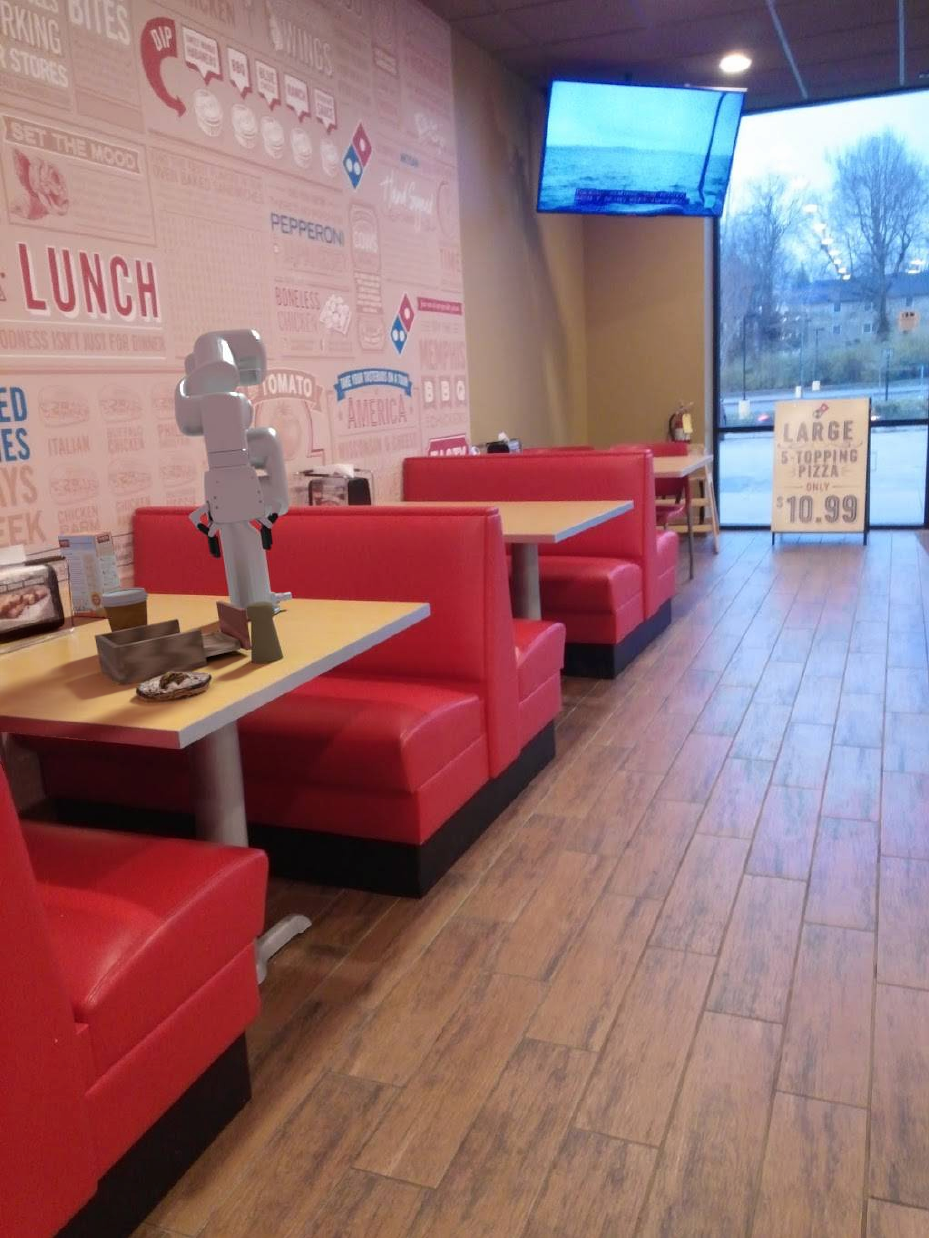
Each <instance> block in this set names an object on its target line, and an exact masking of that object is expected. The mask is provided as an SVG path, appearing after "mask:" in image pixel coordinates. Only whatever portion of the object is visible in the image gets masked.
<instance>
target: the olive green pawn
mask: <svg viewBox="0 0 929 1238" xmlns="http://www.w3.org/2000/svg"><path fill="white" fill-rule="evenodd" d="M246 612H247V616H248V619H249V620H248V621H250V642H251V650H250V651H251V652H250V656H251V657H250V658H251V660H250V661H251V663H253V664H268V663H273V662H278V661H280V660H282V659H283V658H284V655H283V650H282V646H281V643H280V640H279V636H278V633H277V630H276V625H275V621H274V619H273V618H274V616H275V615H276V614H275V609H274V606H273V605H272V603H270V602H265V601H262V602H255V603H252V604H250V605H249V606H248V607H247V611H246Z"/></svg>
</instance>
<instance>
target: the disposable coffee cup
mask: <svg viewBox="0 0 929 1238" xmlns="http://www.w3.org/2000/svg"><path fill="white" fill-rule="evenodd" d="M148 596H149V594H148V593H147V591H146V590H145V588H144V587H130V588H121V590H115V591H111V592H107V593H104V594H102V600H101V601H100V602H101V603H102V605H103V606H104V609H105V612H106V615H107V618H106V619H107V621H108V625H109V627H110V630H111V631H110V632H115V631H120V630H125V629H130V628H135V627H140V626H144V625H149V624H148V623H149V622H148V602H147V600H148Z"/></svg>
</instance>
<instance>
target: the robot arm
mask: <svg viewBox="0 0 929 1238" xmlns="http://www.w3.org/2000/svg"><path fill="white" fill-rule="evenodd" d="M183 364H184V371H185V375H184V377H182V378H181V379H180V381H179V382H178V383H177V384H176V387H175V389H174V396H173V398H174V399H173V401H174V417H175V421H176V426H177V427H178V429H179V431H180V432H181V434H183V435H185V436H186V437H202V436H203V437H204V446H205V451H206V458H207V464H208V470H206V471H204V474H203V475H204V479H203V480H204V481H203V487H204V488H203V491H204V502H205V503H204V504H202V505H201V506H200V507H198V508H196V509H195V510H194V511H193V512H191V513H189V515H188V518H189V519H190V521H191V522H192V524H193V525H194V526H195V529H197V530H199V532H201V534H204V536H206V537H207V538H206V539H207V544H208V551H209V554H210V555H212V557H213V558H215V559H220V558H221V557H222V556H223V562H224V563H223V564H224V569H225V576H226V583H227V589H228V596H229V604H232V605H234V606H237V607H240V608H243V609H246V611H247V607H248V606H249V605H250V604H252V603H255V602H262V601H265V602H270V603H272V605H273V606H274V609H275V614H274V615H276V614H278V613H279V612H280V611H281V606H280V605H279V604H280V603H281V602H286V601H292V599H293V595H292V592H291V591H286V592H278V593H277V592H274V591H272V590H271V583H270V575H269V569H268V562H267V554H266V550H267V551H271V550H272V545H273V543H274V541H273V535H272V528H273V526H274V524H275V523H276V521H277V519H278V518H279V517H280V516H283V515H285V514H287V513H288V512H289V510H290V505H291V502H290V501H291V500H290V492H289V491H290V489H289V485H288V484H289V483H288V477H287V476H288V475H287V471H286V465H285V457H284V451H283V447H282V441H281V438H280V436H279V434H278V432H277V431H276V430H275V429H274V428H272V427H269V426H260V427H259V426H258V427H251V426H252V423H253V422H254V420H255V419H254V418H255V417H254V415H255V414H254V407H253V403H252V401H251V399H249V398H248V397H247V396H246V394H244V393H243V392H237V391H236V390H237V388H238V387H239V388H240V387H248V386H249V387H251V386H257V385H261V384H263V383H264V382H265V380H266V378H267V374H268V365H267V364H268V363H267V351H266V346H265V342H264V340H263V338H262V337H261V335H260V334H259V333H258V332H257V331H255V330H254V329H252V328H240V329H239V328H238V329H237V328H236V329H226V330H215V331H214V330H213V331H209V332H205V333H202V334H201V335H200V336H199V337H197V339H196V340H195V342H194V345H193V352H191V353H189V354H188V355H186V357H185V359H184V363H183ZM257 471H263V472H264V473H266V474H265V475H258V474H257ZM203 515H206V519H207V522H208V524H207V525H205V523H204V522H202V521H201V516H203ZM252 521H256V522H258V524H260V526H261V528H260V529H259V530H258V529H257V528H256V527H255V526H253V525H252V524H251V523H250V522H252ZM217 531H218V532H219V536H217V534H216V533H217ZM219 538H220V540H219ZM220 542H221V544H220ZM220 545H221V547H220ZM221 548H222V555H221ZM246 615H247V612H246ZM247 621H250V620H249V619H248V616H247Z"/></svg>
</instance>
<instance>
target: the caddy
mask: <svg viewBox="0 0 929 1238" xmlns="http://www.w3.org/2000/svg"><path fill="white" fill-rule="evenodd" d="M179 621H180V620H179V619H178V618H174V619H171V620H170V619H169V620H165V621H160V622H155V623H150V624H148V625H144V626H140V627H135V628H130V629H125V630H120V631H115V632H112V631H110V632H106V633H105V632H104V633H100V634H96V635H94V638H95V639H94V640H95V645H96V650H97V656H98V661H99V667H100V670H101V672H102V673H104V674H105V675H107V677H109V678H110V679H112V680H113V681H115V682H116V683H117V684H118V685H120V686H124V685H129V684H133V683H137V682H141V681H148V680H151V679H153V678H156V677H158V676H162V675H164V674H165V673H167V672H169V671H173V672H187V671H189V670H194V669H198V668H202V667H206V666H207V665H208V664H207V657H205V651H204V644H203V638H202V635H203V631H202V629H200V628H198V629H193V630H189V631H188V630H187V631H183V632H181V628H180V622H179Z"/></svg>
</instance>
